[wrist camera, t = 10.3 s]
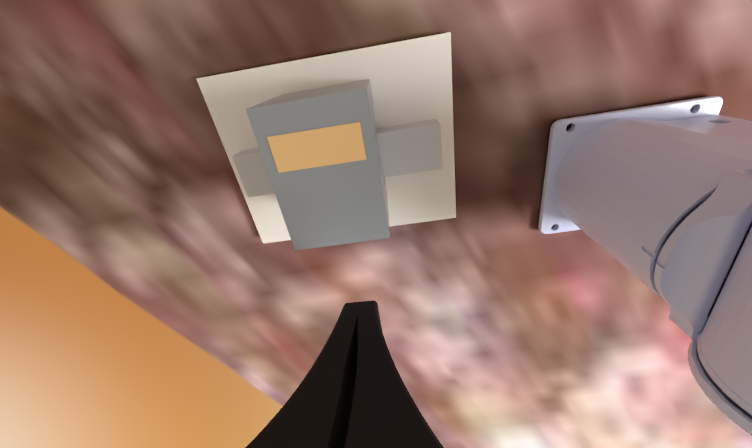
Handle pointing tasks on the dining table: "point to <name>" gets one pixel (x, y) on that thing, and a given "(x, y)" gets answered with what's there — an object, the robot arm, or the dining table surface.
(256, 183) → the rail board
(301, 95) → the module
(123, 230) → the dining table surface
